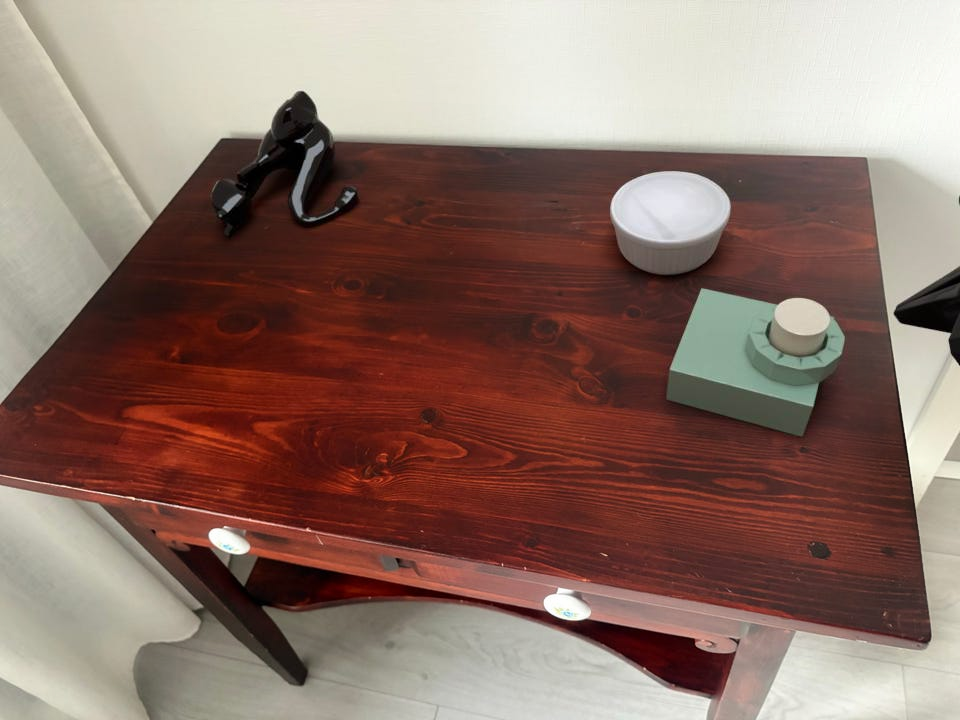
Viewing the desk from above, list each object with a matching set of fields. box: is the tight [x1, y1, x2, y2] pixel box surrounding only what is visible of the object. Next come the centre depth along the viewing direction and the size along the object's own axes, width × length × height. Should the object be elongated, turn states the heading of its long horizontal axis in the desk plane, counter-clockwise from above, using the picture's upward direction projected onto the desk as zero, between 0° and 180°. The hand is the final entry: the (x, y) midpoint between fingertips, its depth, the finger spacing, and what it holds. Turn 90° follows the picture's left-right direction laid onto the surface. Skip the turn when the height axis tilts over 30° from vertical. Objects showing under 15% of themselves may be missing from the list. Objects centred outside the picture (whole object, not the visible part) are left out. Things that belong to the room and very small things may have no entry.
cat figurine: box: [210, 90, 359, 238], centre depth 87 cm, size 10×14×18 cm
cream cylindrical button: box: [769, 297, 831, 357], centre depth 58 cm, size 4×4×2 cm
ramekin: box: [609, 170, 732, 276], centre depth 74 cm, size 11×11×5 cm
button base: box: [665, 287, 846, 438], centre depth 62 cm, size 12×10×6 cm
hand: (897, 314), depth 52 cm, fingers closed
